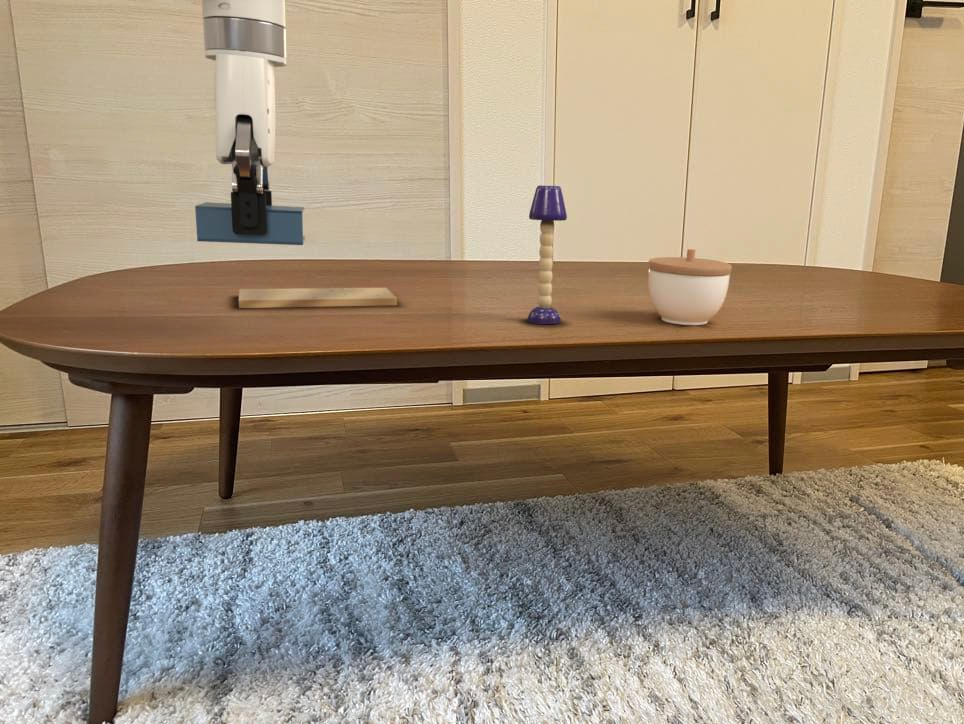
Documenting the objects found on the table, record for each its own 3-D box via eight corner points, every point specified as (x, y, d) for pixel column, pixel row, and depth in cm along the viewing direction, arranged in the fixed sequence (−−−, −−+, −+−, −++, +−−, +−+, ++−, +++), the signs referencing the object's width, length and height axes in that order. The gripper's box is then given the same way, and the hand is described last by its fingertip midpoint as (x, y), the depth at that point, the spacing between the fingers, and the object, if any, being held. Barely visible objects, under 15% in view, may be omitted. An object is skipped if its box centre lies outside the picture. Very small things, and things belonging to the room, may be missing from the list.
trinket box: (661, 310, 110) (667, 243, 108) (735, 320, 105) (743, 250, 103) (630, 321, 102) (636, 248, 99) (709, 332, 96) (718, 256, 94)
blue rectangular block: (197, 241, 77) (195, 205, 76) (207, 234, 83) (205, 202, 82) (303, 245, 79) (302, 211, 78) (305, 238, 86) (304, 207, 85)
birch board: (239, 308, 98) (238, 300, 98) (239, 296, 106) (239, 288, 106) (397, 305, 105) (397, 298, 105) (386, 294, 113) (386, 287, 113)
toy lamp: (517, 319, 99) (522, 184, 94) (543, 316, 102) (549, 184, 97) (544, 326, 96) (550, 186, 91) (569, 322, 99) (577, 186, 94)
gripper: (216, 53, 83) (225, 223, 88) (189, 27, 67) (202, 237, 72) (290, 60, 85) (295, 226, 90) (281, 36, 69) (287, 240, 74)
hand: (253, 229), depth 81 cm, fingers closed on blue rectangular block, 7 cm apart
